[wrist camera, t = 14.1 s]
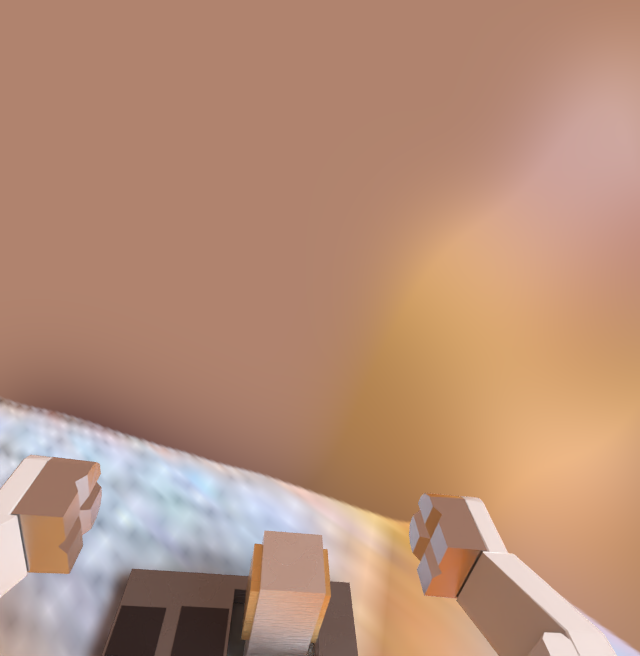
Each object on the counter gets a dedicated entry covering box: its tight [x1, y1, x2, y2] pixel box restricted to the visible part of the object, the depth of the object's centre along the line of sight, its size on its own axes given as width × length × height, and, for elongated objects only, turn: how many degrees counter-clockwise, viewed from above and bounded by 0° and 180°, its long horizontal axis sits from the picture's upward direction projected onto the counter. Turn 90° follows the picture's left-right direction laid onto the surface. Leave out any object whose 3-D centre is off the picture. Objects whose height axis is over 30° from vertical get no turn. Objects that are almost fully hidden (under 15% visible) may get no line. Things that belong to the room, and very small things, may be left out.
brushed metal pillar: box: [241, 531, 331, 656], centre depth 33 cm, size 6×4×12 cm
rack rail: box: [102, 569, 358, 656], centre depth 35 cm, size 20×10×2 cm, turn 93°
